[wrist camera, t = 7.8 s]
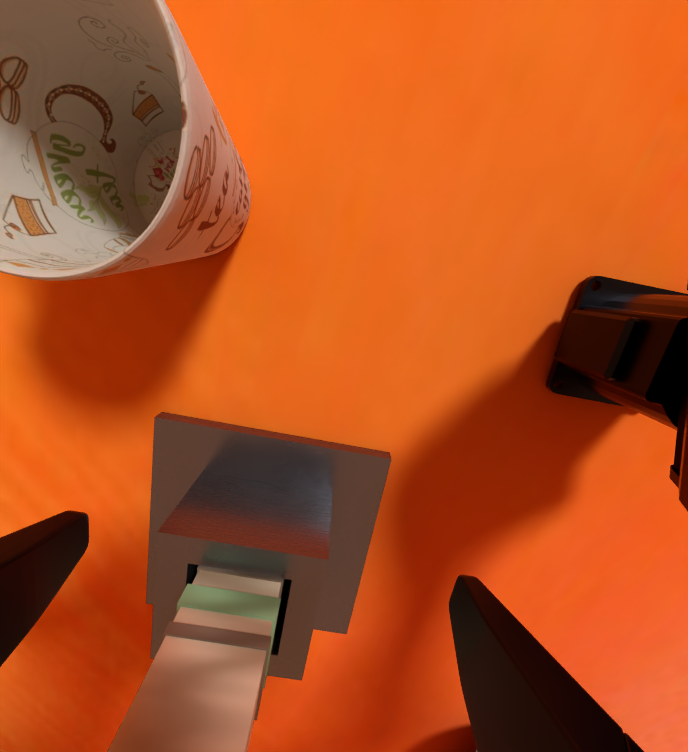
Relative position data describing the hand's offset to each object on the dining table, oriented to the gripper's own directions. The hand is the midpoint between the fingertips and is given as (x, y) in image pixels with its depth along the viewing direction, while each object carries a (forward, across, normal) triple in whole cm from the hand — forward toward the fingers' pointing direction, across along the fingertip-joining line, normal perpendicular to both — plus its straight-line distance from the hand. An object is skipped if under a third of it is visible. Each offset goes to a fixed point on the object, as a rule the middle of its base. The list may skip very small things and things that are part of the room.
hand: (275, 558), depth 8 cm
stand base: (+12, +2, +10) cm, 16 cm away
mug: (+13, +10, -10) cm, 19 cm away
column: (+7, +2, +10) cm, 13 cm away
